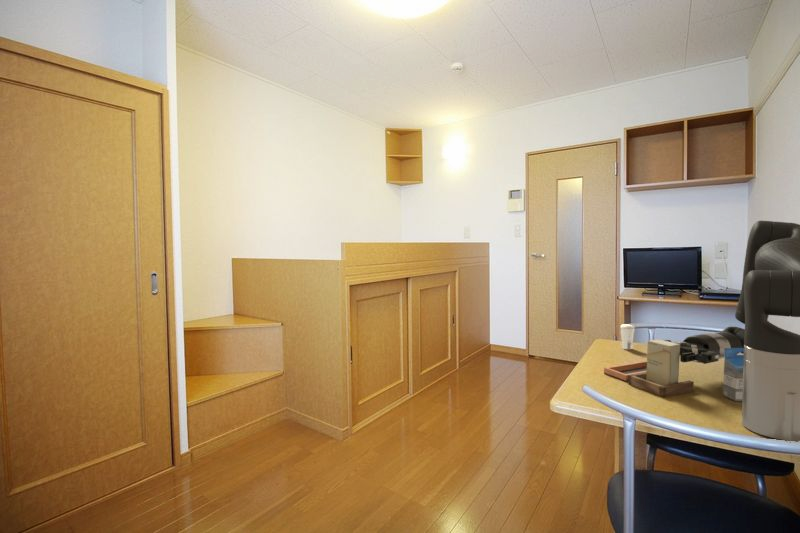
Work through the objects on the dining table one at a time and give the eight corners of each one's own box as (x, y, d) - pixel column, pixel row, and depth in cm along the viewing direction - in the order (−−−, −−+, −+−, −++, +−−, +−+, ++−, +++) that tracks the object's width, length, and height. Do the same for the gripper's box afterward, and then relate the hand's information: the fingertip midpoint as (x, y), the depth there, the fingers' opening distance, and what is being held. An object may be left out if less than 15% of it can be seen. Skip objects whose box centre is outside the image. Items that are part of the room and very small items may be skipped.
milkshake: (638, 350, 137) (639, 323, 136) (622, 350, 138) (623, 323, 137) (633, 347, 141) (634, 320, 141) (618, 346, 142) (618, 320, 142)
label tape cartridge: (735, 402, 92) (736, 352, 91) (722, 395, 96) (723, 348, 95) (772, 401, 92) (774, 351, 91) (758, 395, 95) (759, 347, 95)
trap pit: (671, 373, 112) (671, 367, 112) (625, 381, 107) (626, 375, 107) (647, 366, 120) (647, 360, 119) (604, 373, 114) (604, 367, 114)
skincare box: (645, 383, 104) (646, 340, 103) (655, 381, 106) (656, 338, 105) (669, 391, 98) (670, 345, 98) (680, 388, 100) (680, 343, 99)
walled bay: (693, 391, 99) (693, 381, 99) (663, 397, 95) (663, 387, 95) (656, 378, 108) (656, 370, 108) (628, 383, 105) (628, 375, 105)
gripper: (680, 329, 114) (641, 334, 109) (735, 340, 100) (693, 346, 95) (680, 353, 114) (641, 360, 109) (735, 367, 101) (693, 375, 96)
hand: (665, 353), depth 102 cm, fingers open, 8 cm apart
